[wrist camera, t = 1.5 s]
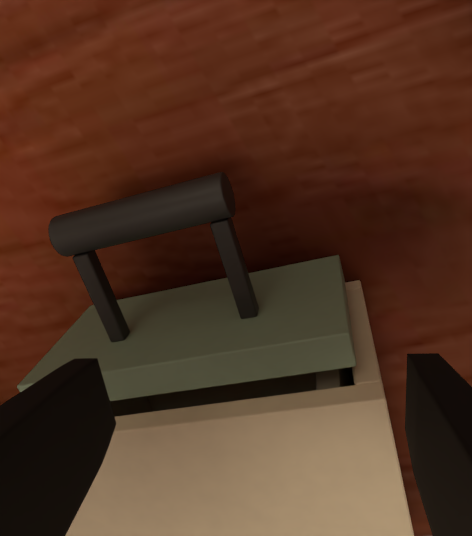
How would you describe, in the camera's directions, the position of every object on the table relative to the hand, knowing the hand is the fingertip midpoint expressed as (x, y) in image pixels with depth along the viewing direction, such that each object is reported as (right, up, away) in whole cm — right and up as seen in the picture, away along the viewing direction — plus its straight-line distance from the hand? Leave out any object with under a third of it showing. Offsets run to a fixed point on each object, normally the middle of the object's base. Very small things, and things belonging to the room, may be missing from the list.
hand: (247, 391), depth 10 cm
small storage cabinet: (+1, -5, +13) cm, 14 cm away
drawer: (0, -1, +10) cm, 11 cm away
